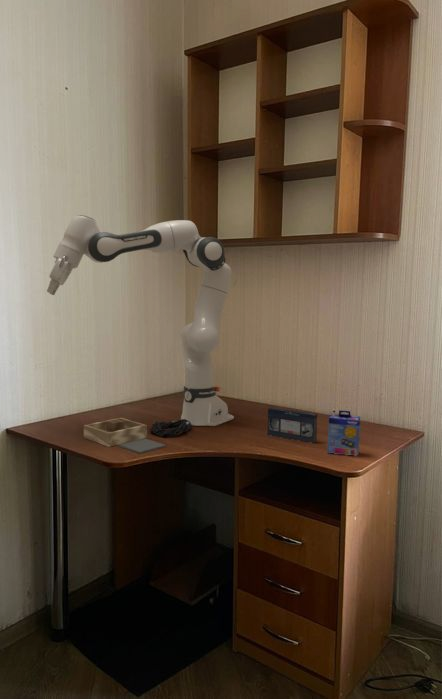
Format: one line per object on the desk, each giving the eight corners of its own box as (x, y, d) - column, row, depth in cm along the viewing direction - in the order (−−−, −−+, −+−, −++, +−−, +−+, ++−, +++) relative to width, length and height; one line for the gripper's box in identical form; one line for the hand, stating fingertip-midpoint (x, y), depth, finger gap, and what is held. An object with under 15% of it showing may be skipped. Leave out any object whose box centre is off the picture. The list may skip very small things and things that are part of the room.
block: (116, 435, 195) (116, 419, 194) (124, 437, 192) (124, 421, 191) (106, 437, 192) (106, 421, 191) (114, 440, 189) (113, 423, 188)
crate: (121, 429, 203) (121, 417, 202) (146, 437, 193) (146, 425, 192) (83, 437, 191) (83, 425, 191) (109, 446, 181) (109, 433, 180)
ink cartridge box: (326, 454, 176) (328, 410, 175) (328, 449, 182) (330, 406, 180) (358, 457, 174) (360, 412, 172) (359, 452, 179) (360, 408, 177)
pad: (144, 440, 189) (144, 438, 189) (165, 446, 182) (165, 444, 182) (118, 446, 181) (118, 444, 181) (139, 453, 174) (139, 451, 174)
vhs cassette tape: (266, 435, 198) (267, 408, 197) (271, 433, 200) (271, 407, 199) (313, 444, 188) (314, 415, 186) (316, 442, 190) (317, 414, 189)
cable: (179, 440, 191) (179, 428, 190) (142, 436, 195) (142, 424, 194) (194, 428, 207) (194, 417, 207) (160, 425, 211) (160, 414, 211)
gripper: (74, 258, 182) (56, 295, 181) (76, 265, 202) (60, 299, 201) (56, 249, 180) (38, 287, 180) (60, 257, 200) (44, 291, 200)
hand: (50, 293), depth 190 cm, fingers open, 8 cm apart
